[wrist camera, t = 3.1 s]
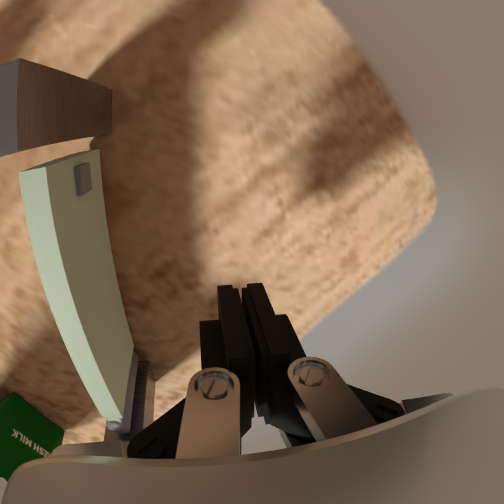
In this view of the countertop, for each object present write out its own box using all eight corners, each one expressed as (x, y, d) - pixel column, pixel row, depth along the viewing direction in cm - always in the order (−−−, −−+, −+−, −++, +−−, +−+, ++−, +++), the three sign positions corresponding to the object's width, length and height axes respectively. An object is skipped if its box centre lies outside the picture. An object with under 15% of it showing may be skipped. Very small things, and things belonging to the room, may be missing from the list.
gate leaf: (119, 363, 18) (107, 432, 13) (74, 153, 12) (12, 174, 7) (143, 363, 19) (136, 434, 13) (104, 148, 13) (53, 165, 7)
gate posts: (70, 97, 12) (-41, 87, 4) (111, 89, 12) (19, 58, 4) (126, 382, 20) (115, 484, 12) (155, 382, 20) (152, 487, 12)
